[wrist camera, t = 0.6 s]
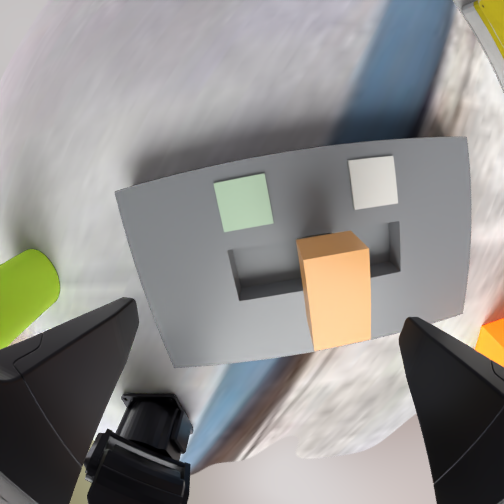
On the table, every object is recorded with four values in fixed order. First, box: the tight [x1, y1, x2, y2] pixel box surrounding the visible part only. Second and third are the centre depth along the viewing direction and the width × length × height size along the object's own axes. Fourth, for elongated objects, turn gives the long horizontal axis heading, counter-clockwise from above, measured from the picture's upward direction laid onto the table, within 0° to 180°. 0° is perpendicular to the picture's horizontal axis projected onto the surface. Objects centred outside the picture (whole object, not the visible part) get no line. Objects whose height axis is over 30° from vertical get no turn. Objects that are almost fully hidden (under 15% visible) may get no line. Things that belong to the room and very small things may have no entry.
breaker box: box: [115, 136, 471, 368], centre depth 20 cm, size 24×14×3 cm, turn 101°
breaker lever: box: [296, 230, 371, 351], centre depth 17 cm, size 3×5×7 cm, turn 11°
